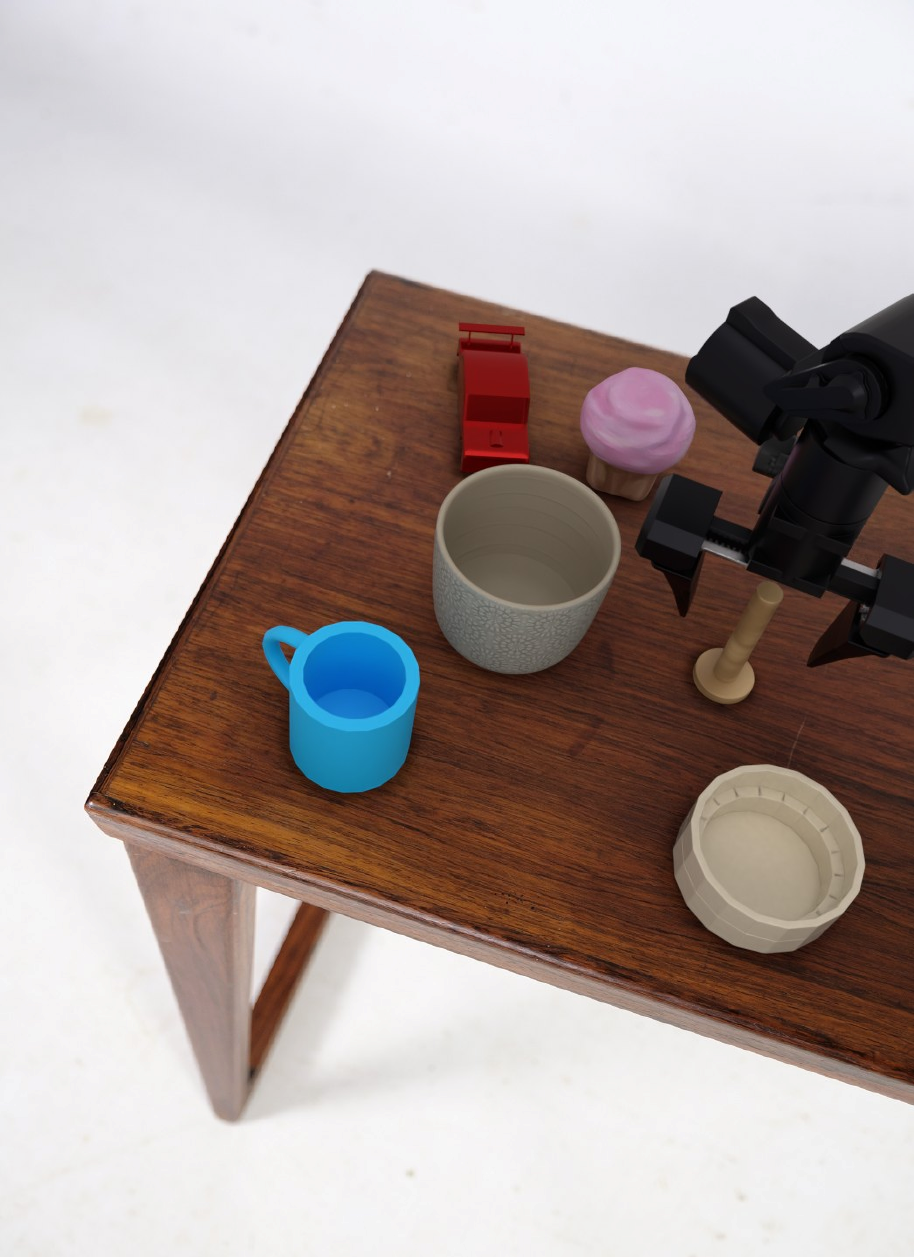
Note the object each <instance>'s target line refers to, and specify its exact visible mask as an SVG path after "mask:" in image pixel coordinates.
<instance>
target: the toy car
mask: <svg viewBox="0 0 914 1257" xmlns="http://www.w3.org/2000/svg"><path fill="white" fill-rule="evenodd" d="M458 332H466V333H468V337H465V336H464V337H463V336H460V337H459V338H458V342H457V349H456V357H458V362H457V395H458V396H457V399H458V426H459V427H458V428H459V440H460V441H461V448H460V449H461V451H460V472H461V473H471V474H474V473H477V472H479V471H481V470H484V469H487V468H491V467H495V466H500V465H509V464H526V465H530V459H531V453H530V441H529V429H528V422H529V414H530V404H531V387H530V374H529V364H528V363H529V362H528V358H527V354H526V353H522V343H521V340H520V341H519V340H514V336H520V337H526V330H525V326H515V325H503V324H502V325H500V324H490V323H489V324H487V323H474V322H462V321H461V322H460V321H459V322H458ZM472 333H480V334H492V335H507V336H510V340H507V339H506V340H505V339H493V338H492V339H491V338H477V337H472Z"/></svg>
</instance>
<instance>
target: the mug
mask: <svg viewBox="0 0 914 1257" xmlns="http://www.w3.org/2000/svg"><path fill="white" fill-rule="evenodd" d="M280 642H282V643H285V644H287V645H288V646H290V647H292V648H295V650H294V654H293V656H292V659H291V661H290V662H289V661H288V660H287V658H286V656H285V653H284V652H283V650H282V648H281V643H280ZM262 649H263V652H264V657H265V658H266V661H267V662H268V665H269V667H270V668H271V670H272V671H273V673H274V674H275V676H276V677H277V679H278V680H279V681H280V683H281V684H282V685H283V686H284V687H285V689H287V691H288V692H289V750H290V752H291V755H292V758H293V760H294V764H295V765H296V766H297V767H298V768H299V770H300V771H301V772H302V773H303V775H304V776H305V777H306V778H307V779H308V780H310V781H312V782H313V783H314V784H317V785H318V786H320V787H322V788H323V789H326V790H327V789H328V790H330V791H334V792H338V793H343V794H344V793H363V792H366V791H369V790H372V789H375V788H378V787H381V786H383V785H384V784H385V783H386V782H388V781H389V780H390V779H392V778H394V777H395V776H396V775H397V773H398V772H399V770H400V769H401V768H402V766H403V765H404V764H405V762H406V759H407V755H408V752H409V748H410V747H411V746H410V745H411V738H412V733H413V727H414V720H415V715H416V709H417V702H418V696H419V690H420V686H421V684H420V683H421V680H420V668H419V663H418V661H417V659H416V657H415V655H414V652H413V650H412V649H411V647H410V646H409V645H408V644H407V643H406V642H405V641H404V640H403V639H402V638H401V636H399V635H397V634H396V633H394V632H393V631H390V630H389V629H387V628H386V627H383V625H378V624H375V623H370V622H368V621H367V622H366V621H359V620H357V621H344V620H343V621H340V622H336V623H332V624H329V625H323V626H322V627H321V628H319V629H317V630H315V631H314V632H313V633H311V634H309V635H308V634H307V633H305V632H303V631H301V630H299V629H298V628H295V627H292V626H286V625H276V626H274V627H272V628H269V629H268V630H267V631H266V632H265V633H264V636H263V639H262Z"/></svg>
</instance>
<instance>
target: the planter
mask: <svg viewBox="0 0 914 1257" xmlns="http://www.w3.org/2000/svg"><path fill="white" fill-rule="evenodd" d="M621 555H622V538H621V532H620V529H619V526H618V523H617V520H616V519H615V517H614V515H613V513H612V511H611V510H610V508H609V506H607V504H606V503H605V501H604V500H603V499H602V498H601V497H600V496H599V495H598V494H596V493H595V492H594V490H592V489H591V488H590V487H588V486H587V485H586V484H584V483H582V482H581V481H580V480H578V479H576V478H574V477H572V476H570V475H569V474H566V473H563V472H561V471H558V470H555V469H552V468H549V467H545V466H539V465H534V464H529V465H526V464H509V465H500V466H495V467H491V468H487V469H484V470H481V471H479V472H477V473H471V474H470V475H468V476H467V477H465V478H463V479H462V480H461V481H460V482H459V483H457V484H456V485H455V486H454V487H453V488H452V489H451V490H450V491H449V493H448V494H447V495H446V497H445V498H444V500H443V501H442V503H441V505H440V508H439V511H438V515H437V518H436V523H435V532H434V540H433V555H432V601H433V608H434V609H433V610H434V615H435V618H436V622H437V624H438V626H439V629H440V630H441V632H442V634H443V636H444V637H445V639H446V641H447V642H448V643H449V645H450V646H451V647H452V648H453V649H454V650H455V651H456V652H457V653H458V654H460V655H461V656H462V657H463V658H464V659H466V660H468V661H469V662H471V663H473V664H474V665H476V666H477V667H480V668H483V669H485V670H487V671H491V672H495V673H500V674H506V675H526V674H527V675H528V674H533V673H537V672H540V671H543V670H546V669H549V668H550V667H553V666H555V665H557V664H558V663H560V662H561V661H563V660H564V659H565V658H566V657H568V656H569V655H570V654H571V653H572V652H573V651H574V650H575V649H576V647H578V645H579V643H580V642H582V639H583V638H584V637H585V635H586V633H587V632H588V630H589V629H590V627H591V625H592V624H593V622H594V620H595V618H596V616H597V614H598V612H599V610H600V608H601V606H602V604H603V602H604V600H605V598H606V596H607V594H608V592H609V590H610V587H611V585H612V583H613V580H614V579H615V576H616V573H617V571H618V567H619V564H620V561H621Z"/></svg>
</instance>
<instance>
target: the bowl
mask: <svg viewBox="0 0 914 1257" xmlns="http://www.w3.org/2000/svg"><path fill="white" fill-rule="evenodd" d="M672 848H673V849H672V854H673V855H672V856H673V857H672V858H673V872H674V878H675V881H676V883H677V886H678V888H679V890H680V893H681V895H682V897H683V900H684V902H685V904H686V906H687V907H688V908H689V910H690V911H691V912H692V913H693V914H694V916H696V918H697V919H698V920H699V921H700V922H701V924H702V925H703V926H704V927H705V928H706V929H707V930H708V931H710V932H711V933H713V934H715V935H717V936H718V937H719V938H721V939H722V940H724V941H725V942H728V943H729V944H731V945H732V946H735V947H738V948H741V949H746V950H748V951H749V950H750V951H753V952H757V953H760V954H774V953H787V952H794V951H797V950H798V949H800V948H802V947H805V946H806V945H808V944H810V943H812V942H813V941H816V940H818V939H819V938H820V936H822V935H823V934H824V933H825V932H826V930H828V929H829V928H830V927H831V926H832V925H833V924H834V923H835V922H836V921H837V920H838V919H839V918H841V916H842V915H843V914H844V913H845V912H846V910H847V909H848V908H849V906H850V905H851V904H852V902H853V901H854V900H855V899H856V897H857V896H858V895H859V894H860V890H861V886H862V883H863V877H864V874H865V869H866V861H865V860H866V859H865V855H864V854H865V853H864V848H863V841H862V837H861V833H860V832H859V830H858V828H857V827H856V825H855V823H854V821H853V819H852V817H851V815H850V813H849V812H848V809H847V808H846V807H845V806H844V805H843V804H842V803H841V802H840V801H839V800H838V799H837V798H836V797H835V796H834V795H833V794H832V793H831V792H830V791H829V790H828V789H827V788H826V787H825V786H824V785H822V784H820V783H818V782H816V781H815V780H814V779H811V778H809V777H808V776H806V775H805V774H803V773H802V772H799V771H797V770H793V769H790V768H786V767H781V766H778V765H774V764H768V763H767V764H766V763H765V764H752V765H749V764H748V765H740V766H737V767H735V768H733V769H731V770H728V771H726V772H724V773H721V774H720V775H718V776H716V777H715V778H714V779H713V780H712V781H711V782H710V783H709V784H708V785H707V787H706V788H705V789H704V790H703V791H702V792H701V793H700V794H699V796H698V797H697V799H696V800H695V801H694V803H693V805H692V807H691V809H690V810H689V811H688V814H686V816H685V818H684V819H683V821H682V823H681V825H680V827H679V830H678V832H677V836H676V838H675V842H674V845H673V847H672Z"/></svg>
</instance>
